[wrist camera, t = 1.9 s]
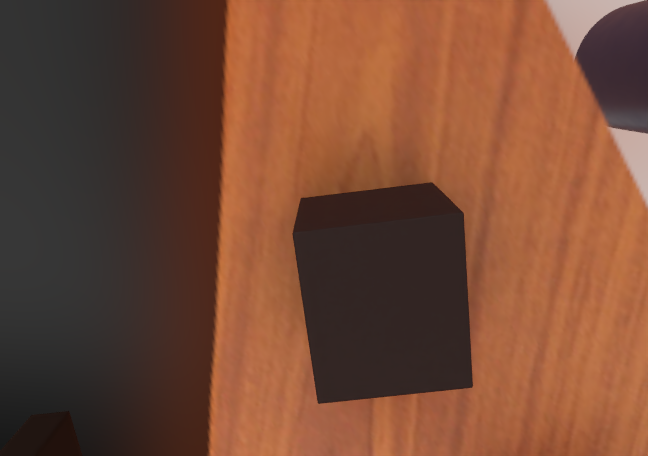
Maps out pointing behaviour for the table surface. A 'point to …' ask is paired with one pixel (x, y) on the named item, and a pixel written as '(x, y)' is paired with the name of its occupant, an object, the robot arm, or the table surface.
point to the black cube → (384, 292)
